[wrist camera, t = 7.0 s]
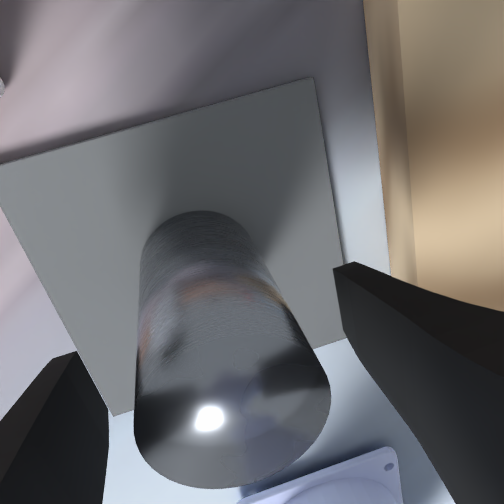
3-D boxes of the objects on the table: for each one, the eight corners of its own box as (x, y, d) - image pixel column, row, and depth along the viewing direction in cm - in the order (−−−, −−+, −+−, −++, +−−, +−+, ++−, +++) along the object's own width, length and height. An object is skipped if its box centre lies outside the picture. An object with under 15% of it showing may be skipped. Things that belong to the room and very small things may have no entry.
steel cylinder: (267, 295, 16) (343, 450, 10) (162, 329, 16) (171, 512, 9) (241, 195, 14) (313, 307, 8) (121, 231, 14) (100, 377, 8)
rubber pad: (350, 329, 18) (354, 335, 18) (113, 409, 17) (113, 416, 17) (309, 77, 14) (313, 77, 13) (-14, 167, 13) (-19, 170, 12)
